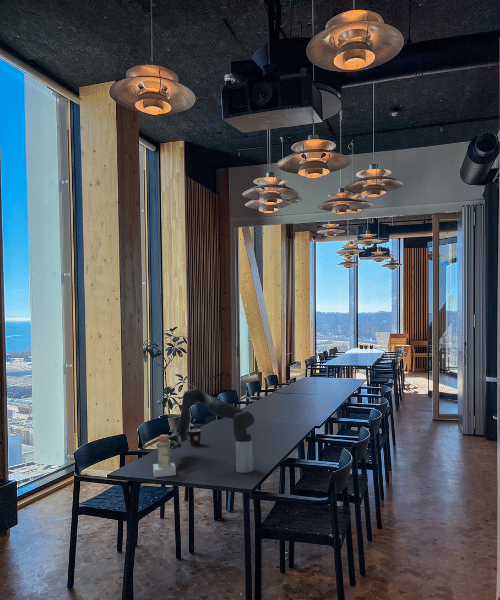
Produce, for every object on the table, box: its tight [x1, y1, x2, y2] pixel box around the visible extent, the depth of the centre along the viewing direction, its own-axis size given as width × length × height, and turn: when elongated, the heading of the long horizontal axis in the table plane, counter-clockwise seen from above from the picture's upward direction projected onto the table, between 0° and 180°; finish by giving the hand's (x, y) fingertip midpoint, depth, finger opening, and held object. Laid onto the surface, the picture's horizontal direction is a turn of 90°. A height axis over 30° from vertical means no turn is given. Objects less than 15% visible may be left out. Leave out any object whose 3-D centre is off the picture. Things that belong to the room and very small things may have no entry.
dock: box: [152, 461, 177, 478], centre depth 282 cm, size 12×12×4 cm
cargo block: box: [158, 434, 169, 442], centre depth 283 cm, size 4×4×3 cm
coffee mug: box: [186, 428, 202, 447], centre depth 347 cm, size 12×9×10 cm
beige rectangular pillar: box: [156, 440, 171, 467], centre depth 283 cm, size 6×6×14 cm
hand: (166, 447), depth 289 cm, fingers open, 8 cm apart
